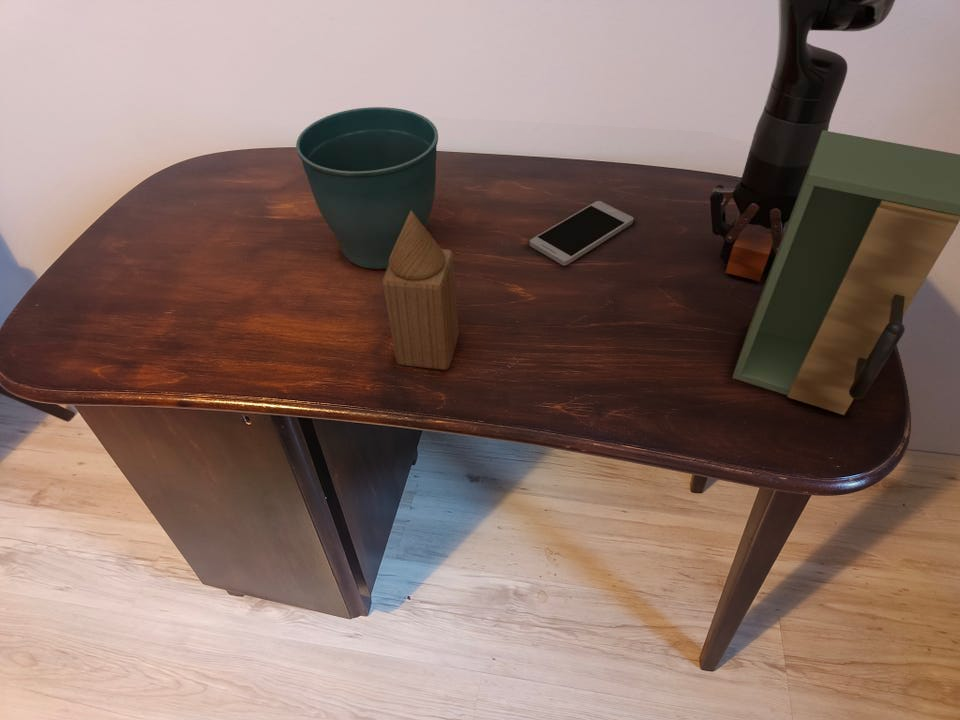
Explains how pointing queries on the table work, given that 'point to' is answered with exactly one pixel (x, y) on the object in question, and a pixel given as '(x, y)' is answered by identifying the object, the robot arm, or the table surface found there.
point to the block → (750, 254)
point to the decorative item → (421, 299)
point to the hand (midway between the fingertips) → (746, 266)
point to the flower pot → (370, 176)
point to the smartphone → (581, 232)
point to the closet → (836, 241)
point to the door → (869, 308)
